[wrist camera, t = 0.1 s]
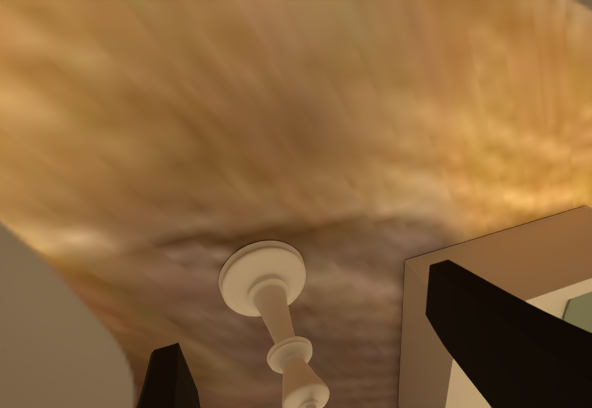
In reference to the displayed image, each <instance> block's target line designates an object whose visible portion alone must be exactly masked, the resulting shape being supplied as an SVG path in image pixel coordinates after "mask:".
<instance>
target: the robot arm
mask: <svg viewBox="0 0 592 408" xmlns="http://www.w3.org/2000/svg"><path fill="white" fill-rule="evenodd" d="M425 315H426V317H427V318H428V320H429V322H430V324H431V325H432V327H433V329H434V331H435V332H436V334H437V335H438V337H439V339H440V340H441V342H442V344H443V345H444V347H445V348H446V349H447V351H448V352H449V353H450V355H451V356H452V357H453V359H454V360H455V361H456V362H457V364H458V365H459V366H460V368H461V369H462V370H463V372H464V373H465V374H466V375H467V377H468V378H469V379H470V381H471V382H472V383H473V384H474V386H475V387H476V388H477V390H478V391H479V392H480V393H481V395H482V396H483V397H484V399H485V400H486V401H487V403H488V404H489V405H490V406H491V408H592V333H591V332H589V331H586V330H584V329H582V328H579V327H577V326H575V325H573V324H570V323H568V322H566V321H564V320H562V319H560V318H558V317H556V316H554V315H552V314H549V313H547V312H545V311H543V310H541V309H539V308H537V307H535V306H533V305H531V304H529V303H527V302H526V301H524V300H522V299H520V298H518V297H516V296H514V295H512V294H510V293H509V292H507V291H505V290H503V289H501V288H499V287H498V286H496V285H494V284H492V283H490V282H489V281H487V280H485V279H483V278H481V277H480V276H478V275H476V274H474V273H472V272H471V271H469V270H467V269H465V268H464V267H462V266H460V265H458V264H456V263H454V262H452V261H451V260H449V259H448V260H444V261H441V262H438V263H435V264H431V265H430V266H429V277H428V289H427V300H426V312H425ZM137 408H200V403H199V397H198V391H197V388H196V386H195V383H194V381H193V378H192V376H191V373H190V371H189V368H188V366H187V363H186V361H185V358H184V356H183V353H182V351H181V348H180V346H179V343H176V344H173V345H169V346H166V347H163V348H160V349H156V350H154V351H153V352H152V354H151V356H150V361H149V365H148V369H147V373H146V377H145V381H144V385H143V388H142V392H141V395H140V398H139V402H138V405H137Z"/></svg>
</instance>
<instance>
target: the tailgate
mask: <svg viewBox="0 0 592 408" xmlns="http://www.w3.org/2000/svg"><path fill="white" fill-rule="evenodd" d="M563 320H564V321H566V322H568V323H570V324H573V325H575V326H577V327H579V328H582V329H584V330H586V331H589V332H591V333H592V291H591V292H589V293H586V294H583V295H580V296H577V297H574V298H572V299H571V300H570V302H569V305H568V308H567V311H566V314H565V316H564V319H563Z"/></svg>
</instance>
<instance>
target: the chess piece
mask: <svg viewBox="0 0 592 408" xmlns="http://www.w3.org/2000/svg"><path fill="white" fill-rule="evenodd" d="M305 280H306V269H305V266H304V262H303V259H302V257H301V255H300V253H299V252H298V251H297V250H296V249H295V248H294V247H292V246H290V245H288V244H286V243H283V242H280V241H260V242H256V243H252V244H250V245H247V246H245V247H243V248H241V249H240V250H238V251H237V252H235V253H234V254H233V255H232V256H231V257H230V258H229V259H228V260H227V261H226V263H225V264H224V266H223V267H222V269H221V272H220V275H219V289H220V292H221V294H222V296H223V299H224V301H225V303H226V304H227V305H228V306H229V307H230V308H231V309H232V310H234V311H235V312H237V313H239V314H242V315H246V316H262V318H263V320H264V322H265V324H266V326H267V328H268V330H269V332H270V334H271V337H272V339H273V341H274V343H275V345H274V346H273V347H272V348H271V349H270V351H269V352H268V355H267V363H268V365H269V366H270V367H271V369H272V370H273V371H275V372H277V373H283V392H282V408H323V407H324V406H325V405H326V403H327V401H328V399H329V389H328V387H327V386H326V384H325V383H324V382H323V381H322V380H321V379H320V378H319V377H318V376H317V375H316V374H315V373H314V371H313V370H312V369H311V367H310V366H309V365H308V364H307V363H308V362H309V360H310V359H311V357H312V345H311V343H310V341H309V340H308V339H306V338H304V337H298V336H295V334H294V330H293V326H292V322H291V318H290V313H289V308H288V305H290V304H291V303H292V302H293V301H294V300H295V299H296V298H297V297H298V296H299V294H300V293H301V291H302V289H303V287H304V284H305Z"/></svg>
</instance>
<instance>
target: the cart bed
mask: <svg viewBox="0 0 592 408" xmlns="http://www.w3.org/2000/svg"><path fill="white" fill-rule="evenodd" d="M448 259H449V260H451V261H452V262H454V263H456V264H458V265H460V266H462V267H464V268H465V269H467V270H469V271H471V272H472V273H474V274H476V275H478V276H480V277H481V278H483V279H485V280H487V281H489V282H490V283H492V284H494V285H496V286H498V287H499V288H501V289H503V290H505V291H507V292H509V293H510V294H512V295H514V296H516V297H518V298H520V299H522V300H524V301H526V302H527V303H529V304H531V305H533V306H535V307H537V308H539V309H541V310H543V311H545V312H547V313H549V314H552V315H554V316H556V317H558V318H560V319H562V320H563V319H564V316H565V314H566V311H567V308H568V305H569V302H570V300H571V299H572V298H574V297H577V296H580V295H583V294H586V293H589V292H591V291H592V209H591V208H589V207H587V206H583V207H580V208H577V209H573V210H570V211H567V212H563V213H560V214H557V215H553V216H550V217H547V218H544V219H540V220H537V221H534V222H530V223H527V224H524V225H520V226H517V227H514V228H510V229H507V230H504V231H500V232H497V233H494V234H490V235H487V236H484V237H480V238H477V239H474V240H471V241H467V242H464V243H461V244H457V245H454V246H451V247H447V248H444V249H441V250H437V251H434V252H431V253H427V254H424V255H421V256H417V257H414V258H411V259H407V260H405V269H404V290H403V312H402V333H401V354H400V375H399V396H398V408H491V406H490V405H489V404H488V403H487V401H486V400H485V399H484V397H483V396H482V395H481V393H480V392H479V391H478V390H477V388H476V387H475V386H474V384H473V383H472V382H471V381H470V379H469V378H468V377H467V375H466V374H465V373H464V372H463V370H462V369H461V368H460V366H459V365H458V364H457V362H456V361H455V360H454V359H453V357H452V356H451V355H450V353H449V352H448V351H447V349H446V348H445V347H444V345H443V344H442V342H441V340H440V339H439V337H438V335H437V334H436V332H435V331H434V329H433V327H432V325H431V324H430V322H429V320H428V318H427V317H426V315H425V312H426V300H427V289H428V277H429V266H430V265H431V264H435V263H438V262H441V261H444V260H448Z"/></svg>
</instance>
